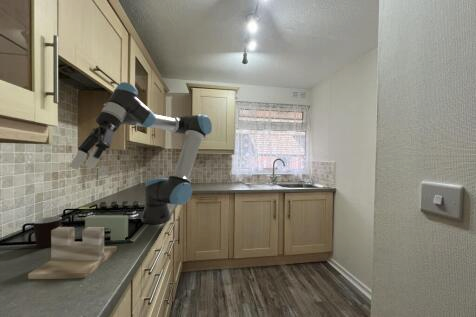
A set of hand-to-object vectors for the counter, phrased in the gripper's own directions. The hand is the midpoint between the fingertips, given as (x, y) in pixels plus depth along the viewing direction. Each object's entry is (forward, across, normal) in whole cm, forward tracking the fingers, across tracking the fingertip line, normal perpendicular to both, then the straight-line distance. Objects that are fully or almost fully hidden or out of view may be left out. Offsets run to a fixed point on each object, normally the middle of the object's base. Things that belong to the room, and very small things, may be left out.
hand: (80, 167), depth 71 cm
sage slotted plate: (+21, -14, +26) cm, 37 cm away
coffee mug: (+27, -28, +13) cm, 41 cm away
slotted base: (+28, -2, +14) cm, 32 cm away
